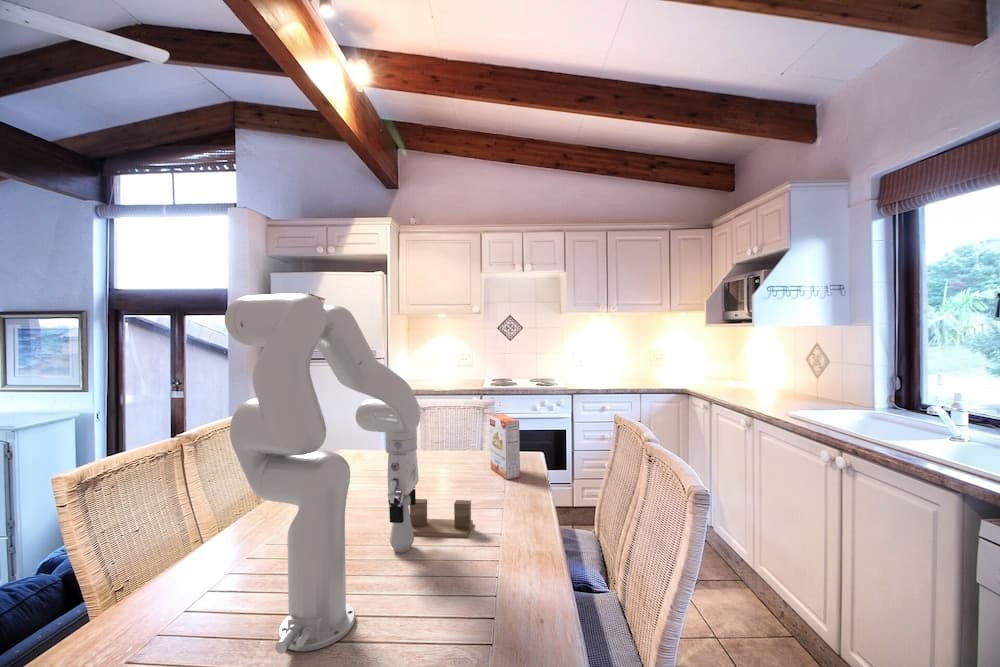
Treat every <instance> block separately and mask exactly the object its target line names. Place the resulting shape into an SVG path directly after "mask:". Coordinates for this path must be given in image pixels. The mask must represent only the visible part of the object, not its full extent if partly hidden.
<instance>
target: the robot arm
mask: <svg viewBox="0 0 1000 667" xmlns="http://www.w3.org/2000/svg"><path fill="white" fill-rule="evenodd" d="M224 325H225V328H226V330H227V332H228V334H229V335H230V336H231V337H232V338H233V339H234V340H235V341H237V342H239V343H240V344H243V345H246V346H253V347H254V346H255V347H262V351H261V353H260V354H259V356H258V358H257V360H256V363H255V366H254V368H253V373H252V376H251V377H252V380H251V381H252V386H253V390H254V393H255V394H254V395H255V397H256V398H255V397H254V398H251V399H248V400H246V401H244V402H242V404H241V405H239V406H238V407H237V409H236V410H235V411H234V413H233V415H232V418H231V420H230V425H229V436H230V441H231V442H230V443H231V445H232V448H233V451H234V453H235V455H236V457H237V460H238V463H239V465H240V467H241V469H242V472H243V474H244V476H245V478H246V480H247V483H248V484H249V486H250V489H251V490H252V491H253V493H254V494H255V495H256V496H258V498H260V499H261V500H262V499H263V500H265V501H268V502H275V503H281V504H282V503H283V504H290V505H294V506H297V508H298V510H297V513H296V515H295V516H294V518H293V519H292V522H291V523H290V525H289V527H288V531H287V586H288V588H287V590H288V594H287V596H288V599H287V600H288V615H287V616H286V618H285V619H284V620H282V622H281V624H280V625H279V629H278V639H279V640H277V642H275V643H276V644H275V646H274V648H275V651H276V653H278V654H281V655H282V654H284V653H285V652H286V651H287V650H291V651H295V652H311V651H315V650H320V649H323V648H326V647H329V646H330V645H332V644H335V643H336V642H338V641H339V640H341V639H342V638H344V637H345V636H346V635H347V634H349V633H348V632H350V631H351V629H352V628H353V626H354V624H355V621H356V614H355V613H356V612H355V609H354V607H353V606H352V605H351V604H350V603H348V602H347V600H346V599H347V598H346V597H347V596H346V595H347V594H346V592H347V591H346V589H347V586H346V585H347V584H346V583H347V582H346V581H347V580H346V507H347V506H346V505H347V497H348V492H349V488H350V480H351V468H350V465H349V463H348V461H347V460H346V459H345V458H344V457H343V456H341V455H340V454H338V453H336V452H332V451H328V450H320V448H321V447H322V446H323V445H324V443H325V441H326V438H327V426H326V421H325V417H324V415H323V414H324V413H323V411H322V408H321V405H320V402H319V399H318V397H317V393H316V390H315V387H314V384H313V381H312V380H313V379H312V376H311V368H310V367H311V361H312V358H313V354H314V353H315V350H316V351H319V352H320V353H321V355H322V357H323V358H324V360H325V362H326V363H327V364H328V366H329V367H330V369H331V371H332V372H333V374H334V376H335V378H336V379H337V381H338V382H339V383H340V384H341V385H342V386H345V387H346V388H348V389H351V390H352V391H354V392H357V393H359V394H360V393H361V394H362V395H363V394H364V395H365V396H368V397H369V396H370V397H371V398H367V399H366V400H364V401H363V402H362V401H361V403H360V404H359V406H358V407H357V408H356V412H355V421H356V424H357V426H358V427H359V428H361V429H362V430H364V431H368V432H374V433H375V432H376V433H385V434H384V436H385V453H387V454H388V455H387V456H388V458H387V491H388V492H387V498H388V502H387V503H388V508H389V509H388V512H389V523H391V524H392V523H403V521H404V514H403V505H402V500H403V495H405V496H407V495H409V496H410V499H411V503H410V505H415V504H416V499H417V497H416V486H417V485H418V483H419V466H418V455H417V450H418V431H417V430H418V427H419V424H420V421H421V409H420V408H421V407H420V405H419V402H418V400H417V397H416V396H415V393H414V391H413V389H412V387H411V386H410V385H409V383H408V382H407V381H406V380H405V379H404V378H402V377H401V376H400V375H398V373H396V372H395V371H393V370H392V369H390V368H389V367H387V366H386V365H384V364H383V363H382V362H379V361H378V360H377V359H376V357H375V355H374V353H373V351H372V349H371V347H370V345H369V343H368V342H367V339H366V338H365V335H364V333H363V332H362V330H361V328H360V326H359V324H358V322H357V320H356V318H355V316H354V315H353V313H352V312H351V311H350V310H348V309H347V308H346V307H344V306H340V305H324V304H323V302H322V300H320V299H319V298H318V297H316V296H313V295H311V294H307V293H306V294H305V293H297V292H296V293H294V292H293V293H292V292H291V293H274V294H253V295H252V294H251V295H244V296H242V297H238V298H237V299H235V300H233V301H232V302H231V303H230V304H229V306H228V307H227V309H226V311H225V315H224ZM395 496H399V501H398V499H397V498H395ZM410 505H409V506H410Z"/></svg>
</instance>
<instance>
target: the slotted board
mask: <svg viewBox="0 0 1000 667" xmlns="http://www.w3.org/2000/svg"><path fill="white" fill-rule="evenodd" d="M453 504H454V506H453V507H454V508H453V514H454V518H453V519H447V518H442V519H441V518H428V499H426V498H416V504H415V505H409V513H410V518H411V523H412V529H413V534H414V535H417V536H419V537H440V536H446V537H447V538H469V535H470V532H471V529H472V527H473V524H474V522H473V519H472V501H471V500H466V499H465V500H464V499H463V500H462V499H456V500H455V501H454V503H453ZM417 536H416V537H417ZM446 537H445V538H446Z"/></svg>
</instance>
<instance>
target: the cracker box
mask: <svg viewBox="0 0 1000 667" xmlns="http://www.w3.org/2000/svg"><path fill="white" fill-rule="evenodd" d="M489 435H490V436H489V439H490V440H489V441H490V442H489V443H490V444H489V446H490V469H491V470H492V471H494V472H495V473H497V474H498V475H499V476H500V477H502V478H504V479H505V480H507V479H508V480H512V479H513V480H514V479H517V478H520V477H521V459H520V458H521V456H520V455H521V454H520V449H521V448H520V420H519V419H516V418H514V417H510V416H509V415H506V414H504V413H499V414H490V415H489ZM508 480H507V481H508Z"/></svg>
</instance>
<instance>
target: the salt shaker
mask: <svg viewBox="0 0 1000 667" xmlns="http://www.w3.org/2000/svg"><path fill="white" fill-rule="evenodd" d="M395 498H397V499H398V501H399V496H395ZM410 503H411V499H410V496H409V495H407V496H405V495H403V500H402V505H403V514H404V521H403V523H391V530H390V531H391V532H390V538H389V544H390V545H391V547H392V548H393V551H394V553H399V554H402V553H407V552H409V551H410V549H411V547H412V545H413V543H414V540H415V536H414V534H413V529H412V523H411V518H410Z"/></svg>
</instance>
